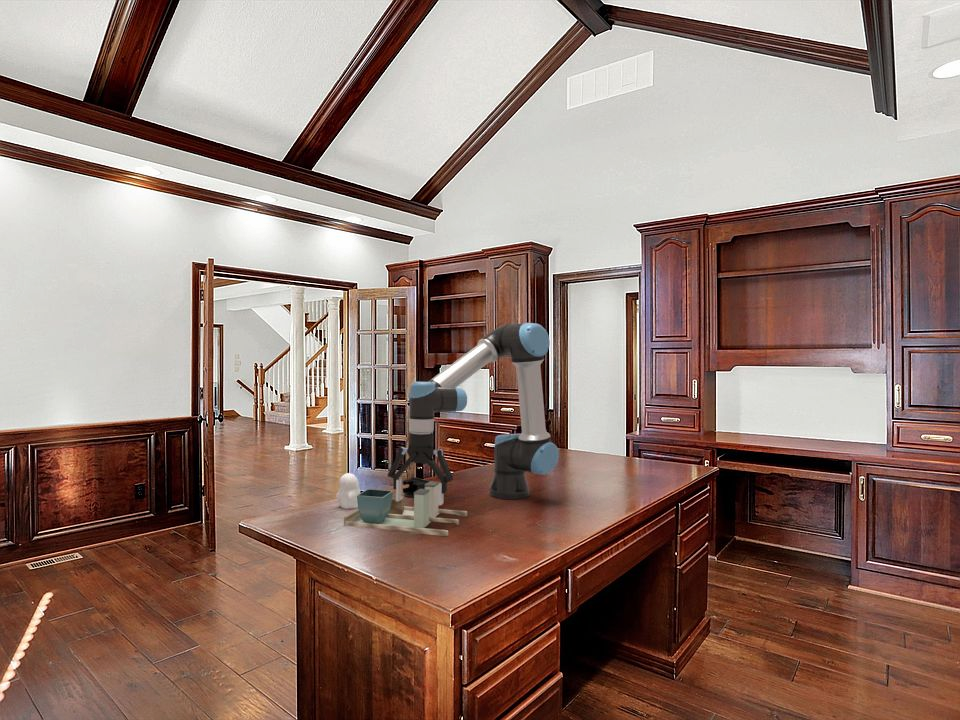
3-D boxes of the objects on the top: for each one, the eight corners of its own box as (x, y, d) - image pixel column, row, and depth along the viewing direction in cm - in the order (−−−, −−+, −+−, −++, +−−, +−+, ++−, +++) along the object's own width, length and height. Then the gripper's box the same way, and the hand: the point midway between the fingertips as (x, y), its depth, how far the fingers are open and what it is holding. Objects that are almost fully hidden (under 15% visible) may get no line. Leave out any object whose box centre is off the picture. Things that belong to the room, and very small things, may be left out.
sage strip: (431, 523, 174) (432, 487, 174) (420, 532, 165) (421, 495, 165) (366, 517, 180) (366, 483, 180) (352, 526, 170) (352, 489, 170)
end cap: (434, 498, 206) (434, 479, 206) (419, 501, 201) (419, 482, 201) (416, 493, 213) (417, 475, 213) (401, 496, 208) (402, 478, 208)
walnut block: (403, 511, 186) (404, 496, 186) (402, 515, 181) (402, 499, 181) (388, 510, 186) (389, 495, 186) (386, 515, 181) (386, 499, 181)
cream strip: (440, 514, 184) (440, 481, 184) (432, 521, 176) (432, 486, 176) (377, 509, 189) (378, 476, 189) (367, 515, 182) (368, 481, 182)
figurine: (334, 509, 189) (334, 473, 189) (349, 504, 196) (349, 469, 196) (350, 512, 186) (350, 476, 186) (365, 506, 193) (365, 472, 193)
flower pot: (382, 526, 169) (383, 497, 168) (355, 524, 170) (355, 495, 170) (393, 518, 177) (393, 490, 177) (367, 516, 179) (367, 488, 179)
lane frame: (467, 515, 183) (467, 506, 183) (447, 536, 162) (447, 526, 162) (374, 508, 191) (374, 499, 191) (343, 526, 170) (343, 516, 170)
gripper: (464, 433, 171) (462, 502, 171) (387, 429, 177) (386, 496, 177) (457, 436, 163) (455, 508, 163) (378, 431, 169) (376, 501, 169)
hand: (419, 502), depth 170 cm, fingers open, 13 cm apart
